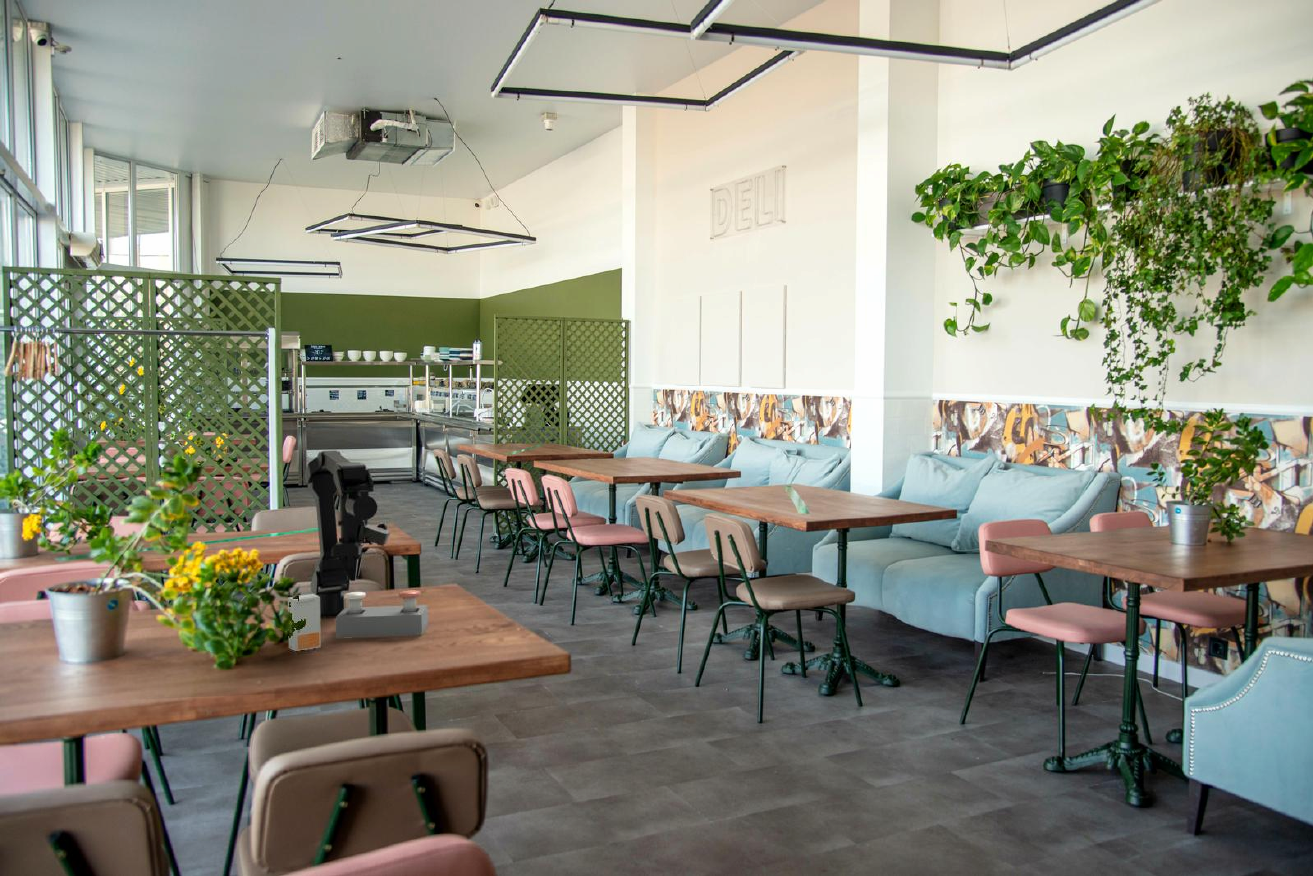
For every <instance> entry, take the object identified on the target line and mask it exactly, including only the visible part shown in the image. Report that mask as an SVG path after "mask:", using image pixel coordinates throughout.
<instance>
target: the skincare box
mask: <svg viewBox="0 0 1313 876" xmlns="http://www.w3.org/2000/svg"><path fill="white" fill-rule="evenodd" d="M298 596H299V601H298V599H293V597H294V596H290V597H287V613H288V612H289V609H290V613H292V620H293V621H294V623H297V622H298V621H301V619H302V620H303V621H304V619H306V625H305V627H303V628H302V629H300V630H296V628H294V629H295V631H294V632H293V636H291V638H289V637H288V649H289V648H290V649H292V650H294V651H299V652H301V651H300V650H305V651H310V650H314V649H313V648H316V649H320V648H319V647H322V643H321V640H322V639H321V618H320V597H319V596H317V595H315V594H313V593H309V594H301V595H298ZM289 602H291V604H290V605H291V607H289ZM290 649H289V650H290ZM308 649H309V650H308ZM292 650H291V651H292ZM294 651H293V652H294Z"/></svg>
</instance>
